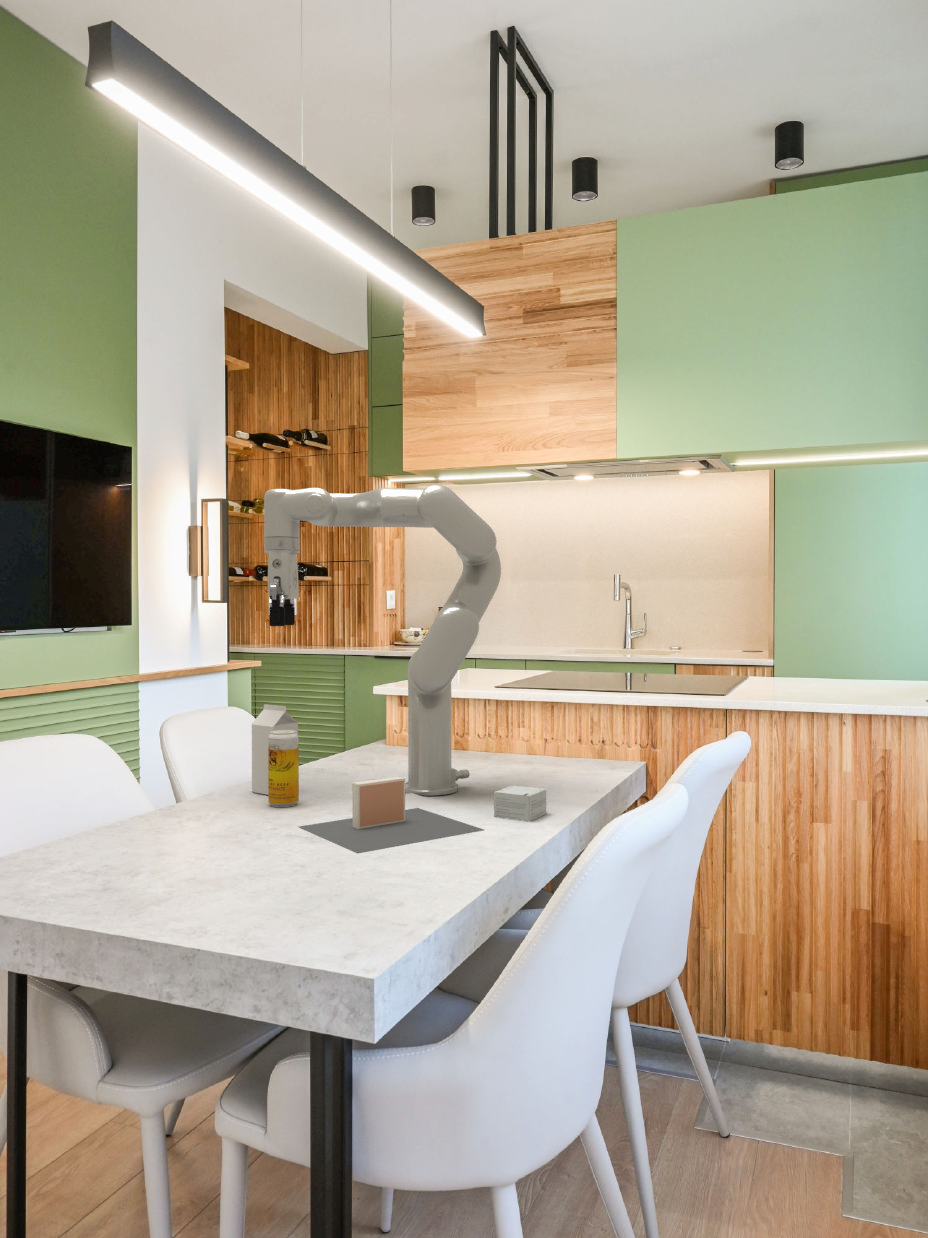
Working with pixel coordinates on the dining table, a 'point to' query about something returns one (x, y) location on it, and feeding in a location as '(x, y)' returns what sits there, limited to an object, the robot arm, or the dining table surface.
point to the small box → (520, 803)
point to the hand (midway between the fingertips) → (282, 625)
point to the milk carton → (266, 742)
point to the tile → (378, 802)
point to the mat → (390, 831)
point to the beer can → (283, 768)
